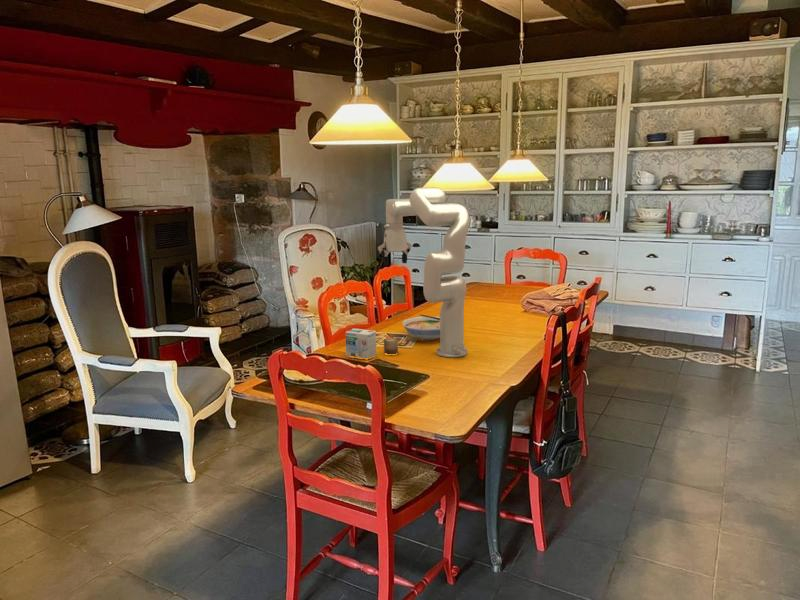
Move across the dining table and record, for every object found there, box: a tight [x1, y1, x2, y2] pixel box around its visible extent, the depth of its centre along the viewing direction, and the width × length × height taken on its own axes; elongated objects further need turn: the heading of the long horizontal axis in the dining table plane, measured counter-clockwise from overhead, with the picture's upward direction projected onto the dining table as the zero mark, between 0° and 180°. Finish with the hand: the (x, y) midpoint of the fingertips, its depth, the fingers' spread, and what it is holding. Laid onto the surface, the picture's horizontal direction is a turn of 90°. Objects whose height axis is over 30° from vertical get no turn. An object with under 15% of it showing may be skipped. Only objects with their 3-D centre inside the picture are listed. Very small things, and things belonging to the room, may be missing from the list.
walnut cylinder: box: [383, 337, 399, 354], centre depth 240 cm, size 6×6×6 cm
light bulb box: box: [344, 327, 377, 358], centre depth 236 cm, size 11×7×11 cm, turn 62°
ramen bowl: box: [401, 314, 440, 341], centre depth 261 cm, size 25×23×8 cm
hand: (395, 263), depth 271 cm, fingers open, 9 cm apart
